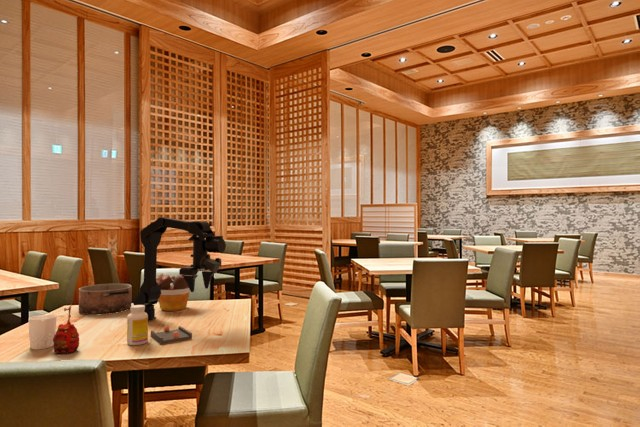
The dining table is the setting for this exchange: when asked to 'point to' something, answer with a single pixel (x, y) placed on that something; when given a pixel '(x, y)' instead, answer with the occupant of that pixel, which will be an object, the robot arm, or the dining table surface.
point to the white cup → (42, 331)
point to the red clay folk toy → (66, 337)
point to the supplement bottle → (137, 325)
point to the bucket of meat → (172, 292)
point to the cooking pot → (104, 298)
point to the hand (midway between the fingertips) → (199, 290)
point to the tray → (171, 335)
